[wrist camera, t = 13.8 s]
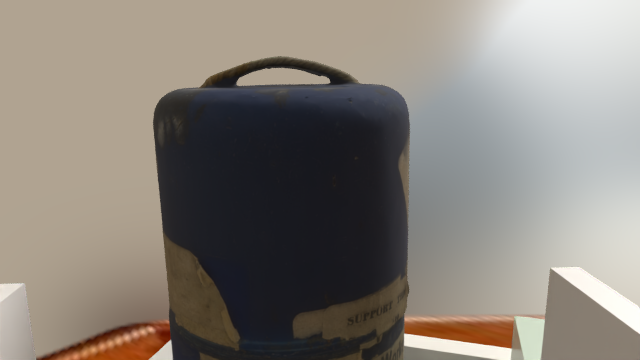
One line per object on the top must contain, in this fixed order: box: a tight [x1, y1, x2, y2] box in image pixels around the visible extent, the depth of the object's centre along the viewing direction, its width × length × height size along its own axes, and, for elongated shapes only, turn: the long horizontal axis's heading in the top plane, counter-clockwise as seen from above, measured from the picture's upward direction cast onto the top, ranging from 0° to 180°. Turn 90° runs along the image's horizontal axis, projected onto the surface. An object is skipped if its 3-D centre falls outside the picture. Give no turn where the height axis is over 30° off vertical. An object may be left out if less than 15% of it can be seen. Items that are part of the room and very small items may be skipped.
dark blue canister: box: [153, 56, 410, 360], centre depth 19 cm, size 10×10×18 cm
